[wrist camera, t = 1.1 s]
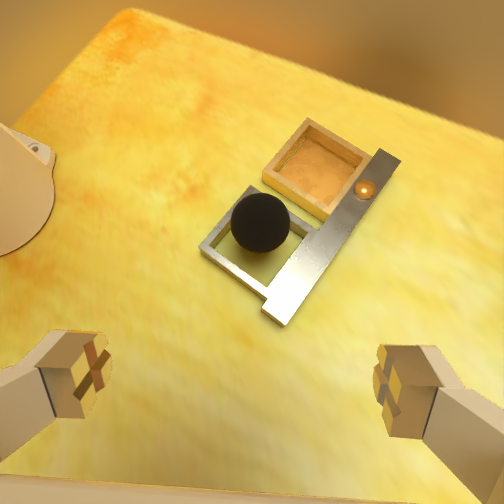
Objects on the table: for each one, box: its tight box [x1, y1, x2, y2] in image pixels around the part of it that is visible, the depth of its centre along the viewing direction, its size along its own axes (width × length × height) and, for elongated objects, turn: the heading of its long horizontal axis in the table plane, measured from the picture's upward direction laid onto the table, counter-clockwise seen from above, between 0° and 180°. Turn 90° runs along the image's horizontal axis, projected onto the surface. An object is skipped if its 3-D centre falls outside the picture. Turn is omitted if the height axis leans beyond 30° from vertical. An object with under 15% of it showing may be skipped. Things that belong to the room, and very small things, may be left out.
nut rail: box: [198, 117, 401, 327], centre depth 39 cm, size 13×24×3 cm, turn 143°
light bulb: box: [231, 193, 290, 253], centre depth 34 cm, size 6×6×10 cm
